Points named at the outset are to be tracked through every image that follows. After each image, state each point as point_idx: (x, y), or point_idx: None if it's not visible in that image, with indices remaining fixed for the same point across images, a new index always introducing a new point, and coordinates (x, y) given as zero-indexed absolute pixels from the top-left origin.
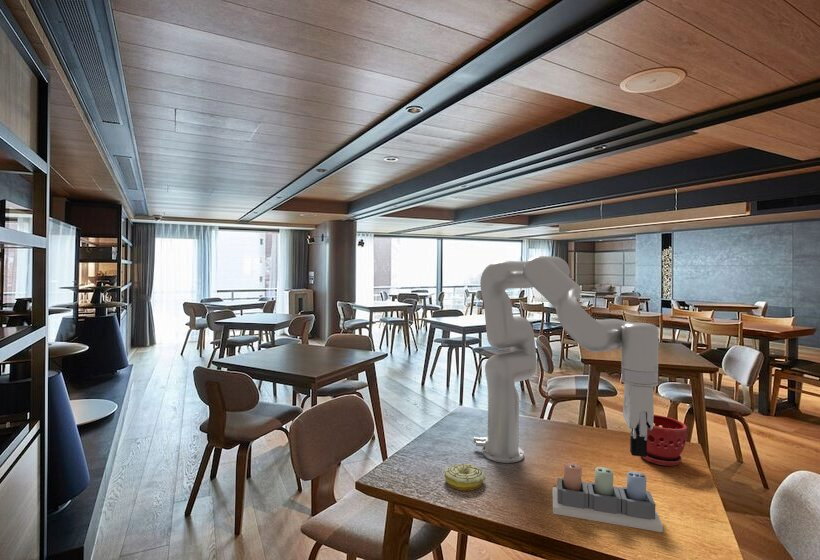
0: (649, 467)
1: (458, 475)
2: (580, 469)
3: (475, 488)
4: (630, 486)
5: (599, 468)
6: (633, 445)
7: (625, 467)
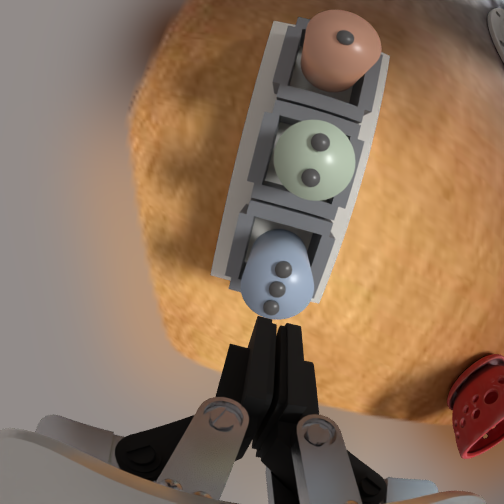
0: (462, 356)
1: None
2: (319, 57)
3: None
4: (263, 244)
5: (340, 148)
6: (248, 363)
7: (478, 312)
